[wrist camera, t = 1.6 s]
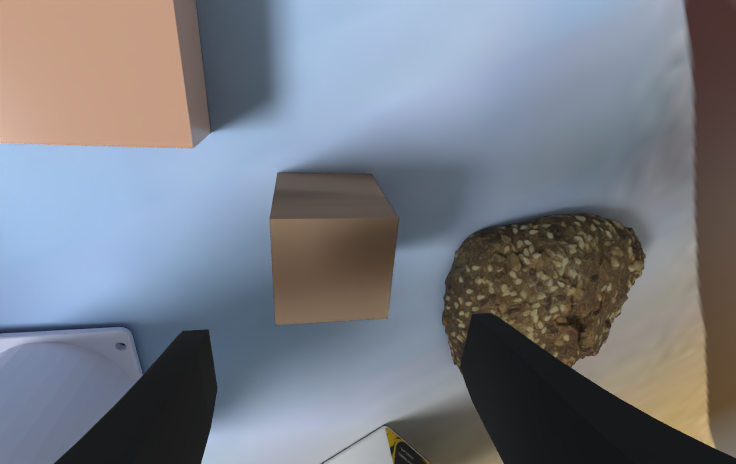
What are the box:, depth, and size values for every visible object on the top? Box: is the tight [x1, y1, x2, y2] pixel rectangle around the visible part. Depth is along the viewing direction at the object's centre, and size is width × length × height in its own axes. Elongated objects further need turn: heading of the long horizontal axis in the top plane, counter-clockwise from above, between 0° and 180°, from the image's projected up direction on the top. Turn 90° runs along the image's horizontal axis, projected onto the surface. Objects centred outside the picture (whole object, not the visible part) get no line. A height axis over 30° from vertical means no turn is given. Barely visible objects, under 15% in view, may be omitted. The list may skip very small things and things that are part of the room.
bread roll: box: [442, 213, 645, 373], centre depth 22 cm, size 13×12×5 cm
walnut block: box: [270, 173, 399, 325], centre depth 16 cm, size 4×4×6 cm
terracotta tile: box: [0, 0, 211, 148], centre depth 12 cm, size 8×8×3 cm
